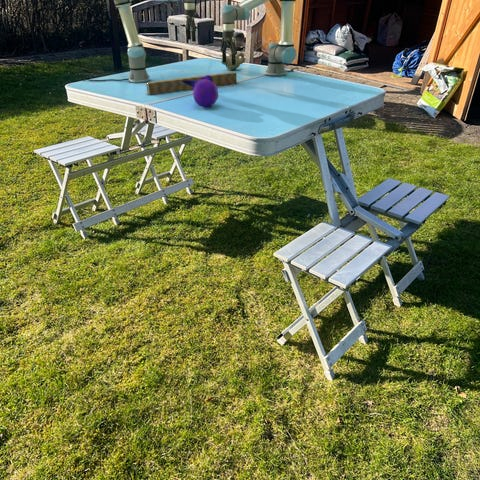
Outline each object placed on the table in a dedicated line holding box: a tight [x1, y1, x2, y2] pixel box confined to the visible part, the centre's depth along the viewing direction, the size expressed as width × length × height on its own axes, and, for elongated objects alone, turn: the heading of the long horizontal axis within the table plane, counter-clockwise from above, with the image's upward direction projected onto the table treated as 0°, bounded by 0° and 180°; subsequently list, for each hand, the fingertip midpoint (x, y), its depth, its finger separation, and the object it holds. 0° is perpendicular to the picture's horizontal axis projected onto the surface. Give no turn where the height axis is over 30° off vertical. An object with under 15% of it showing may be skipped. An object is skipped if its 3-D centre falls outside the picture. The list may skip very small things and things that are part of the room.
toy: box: [182, 74, 219, 108], centre depth 268 cm, size 16×18×27 cm
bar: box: [145, 71, 238, 96], centre depth 311 cm, size 66×5×8 cm, turn 119°
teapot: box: [221, 51, 245, 71], centre depth 369 cm, size 21×12×15 cm, turn 120°
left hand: (191, 40), depth 343 cm, fingers open, 13 cm apart
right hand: (228, 63), depth 317 cm, fingers open, 13 cm apart
